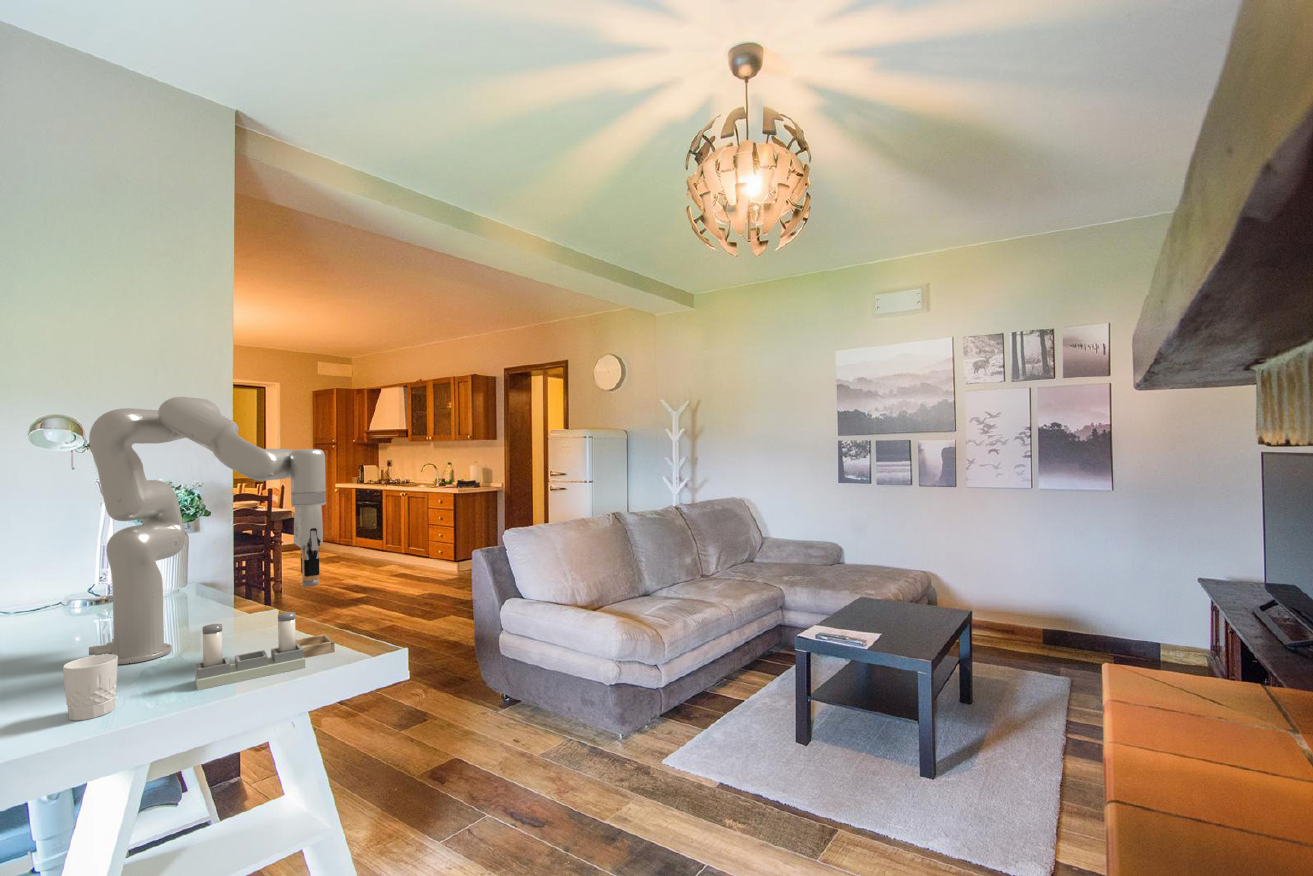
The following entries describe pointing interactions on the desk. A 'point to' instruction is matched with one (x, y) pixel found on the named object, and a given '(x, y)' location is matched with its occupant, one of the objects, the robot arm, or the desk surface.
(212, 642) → the cylinder
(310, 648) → the tray
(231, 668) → the fuse holder
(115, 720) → the desk surface
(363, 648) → the desk surface
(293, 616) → the cylinder
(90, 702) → the white cup
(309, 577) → the cylinder
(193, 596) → the desk surface
